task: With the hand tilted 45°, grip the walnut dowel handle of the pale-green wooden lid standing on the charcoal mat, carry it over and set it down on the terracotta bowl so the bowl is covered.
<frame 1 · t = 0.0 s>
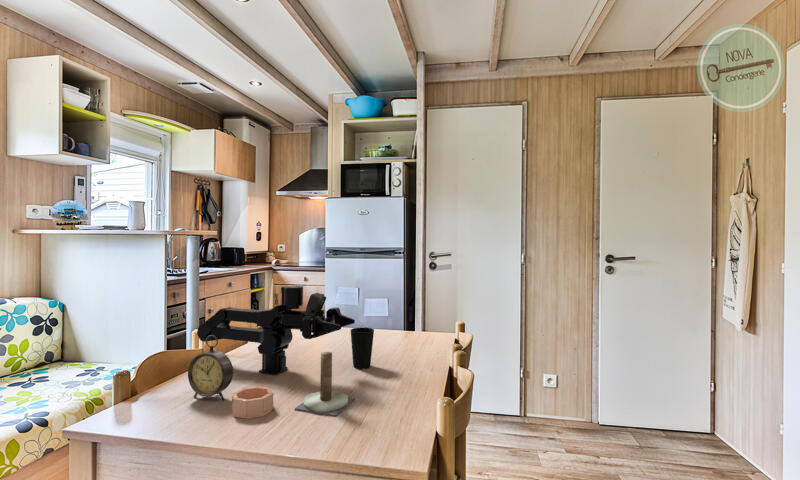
hand: (347, 324, 122), 17 cm above the table, tool horizontal, fingers open, 9 cm apart
cup: (361, 367, 136), on the table
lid: (325, 402, 104), resting on mat
alarm clock: (211, 398, 108), on the table
bowl: (252, 409, 101), on the table
mat: (325, 404, 104), on the table
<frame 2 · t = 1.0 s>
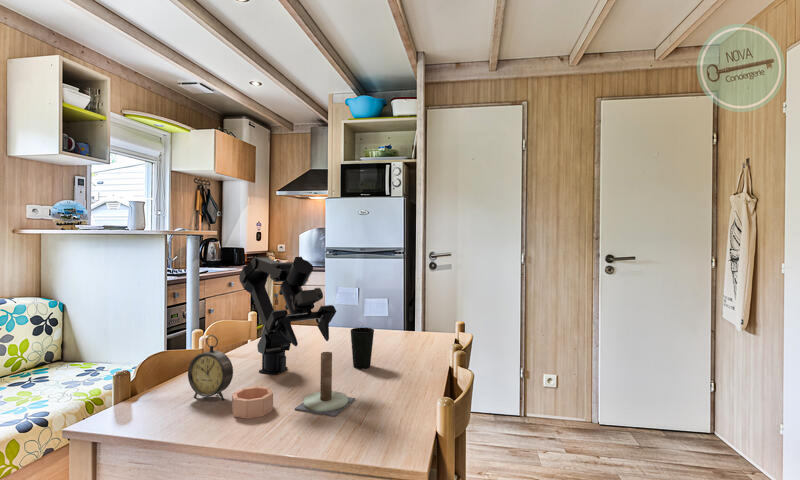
hand: (312, 342, 111), 14 cm above the table, tool tilted 45°, fingers open, 9 cm apart
nothing on the table moved.
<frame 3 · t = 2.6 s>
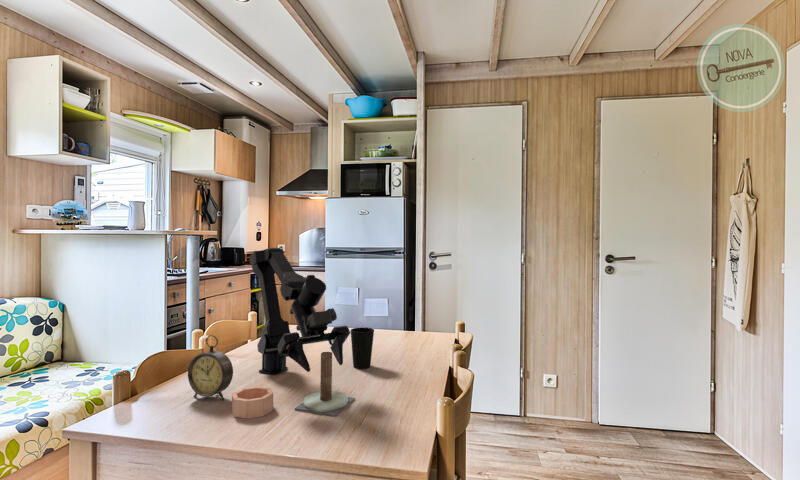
hand: (325, 367, 105), 9 cm above the table, tool tilted 45°, fingers open, 9 cm apart
nothing on the table moved.
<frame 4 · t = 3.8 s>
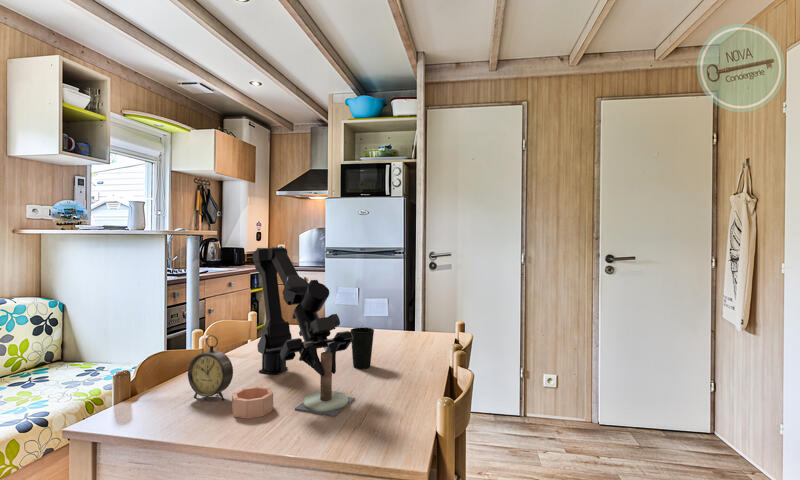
hand: (329, 374, 103), 8 cm above the table, tool tilted 45°, fingers closed on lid, 3 cm apart
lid: (325, 402, 104), resting on mat, touching gripper
everything else where it was.
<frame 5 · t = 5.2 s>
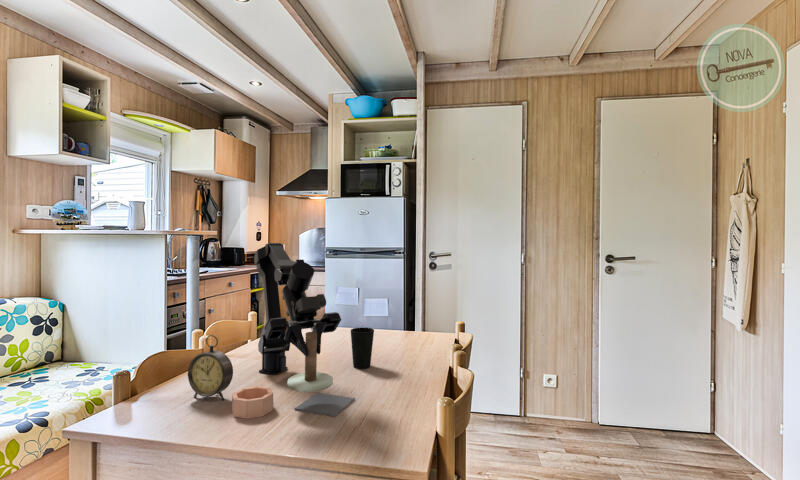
hand: (313, 354, 102), 13 cm above the table, tool tilted 45°, fingers closed on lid, 3 cm apart
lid: (310, 383, 103), point 6 cm above the table, touching gripper
everything else where it was.
when the fingers open (13 cm above the table, at t = 6.7 s): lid drops 1 cm, resting on bowl.
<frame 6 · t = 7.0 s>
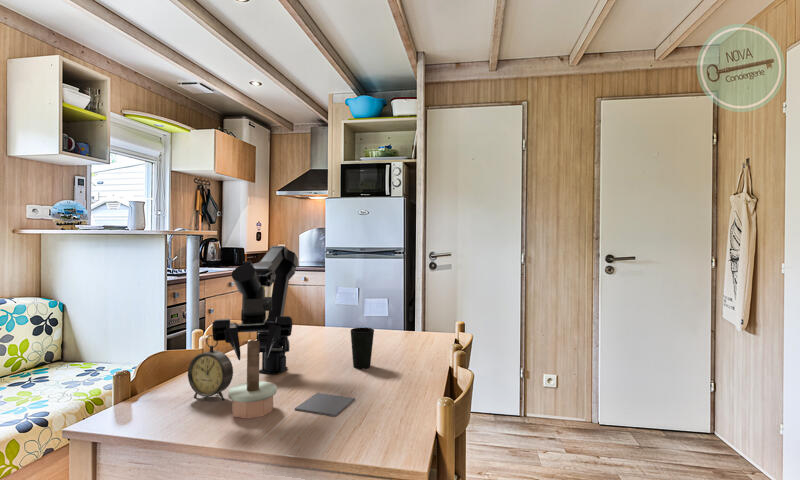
hand: (253, 358, 99), 13 cm above the table, tool tilted 45°, fingers open, 6 cm apart
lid: (252, 393, 101), point 4 cm above the table, touching bowl
bowl: (252, 409, 101), on the table, touching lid
everything else where it was.
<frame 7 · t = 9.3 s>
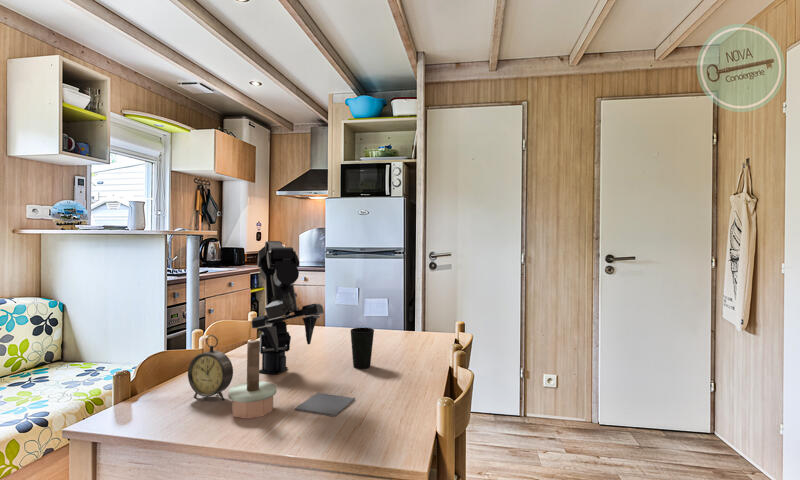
hand: (292, 347, 112), 12 cm above the table, tool tilted 20°, fingers open, 9 cm apart
nothing on the table moved.
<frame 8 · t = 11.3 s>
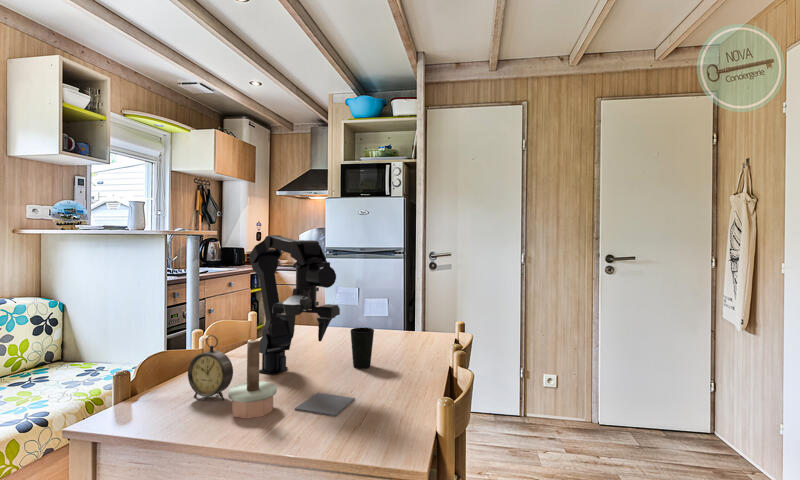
hand: (305, 339, 118), 13 cm above the table, tool pointing down, fingers open, 9 cm apart
nothing on the table moved.
at the end: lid 0.1 cm off-centre on the bowl, point 4.0 cm above the bowl's base; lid tilted 0°; the gripper is holding nothing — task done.
